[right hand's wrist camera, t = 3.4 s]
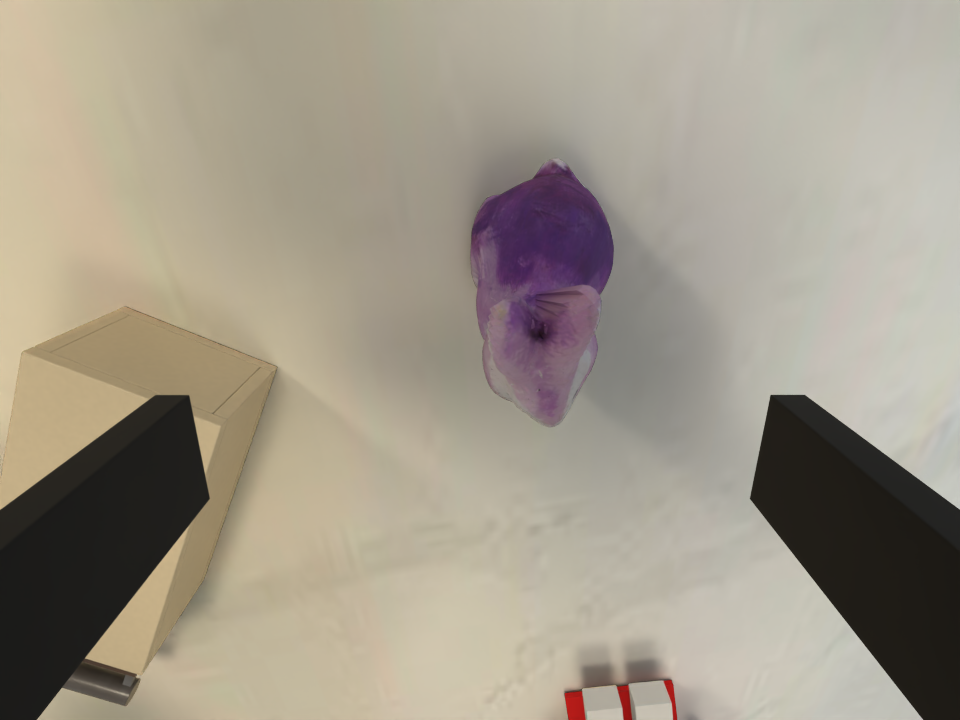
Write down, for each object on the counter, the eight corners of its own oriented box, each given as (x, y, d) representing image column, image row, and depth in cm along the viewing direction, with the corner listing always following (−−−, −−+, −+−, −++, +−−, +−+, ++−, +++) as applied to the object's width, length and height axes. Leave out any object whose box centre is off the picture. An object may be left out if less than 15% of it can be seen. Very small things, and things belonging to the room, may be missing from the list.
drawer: (169, 648, 45) (118, 730, 38) (56, 612, 43) (-17, 691, 37) (251, 404, 37) (204, 456, 31) (116, 352, 36) (38, 395, 29)
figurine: (516, 368, 37) (539, 501, 23) (425, 240, 34) (386, 303, 20) (641, 289, 35) (749, 382, 21) (556, 147, 32) (615, 144, 18)
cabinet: (204, 579, 43) (141, 676, 35) (72, 534, 42) (-26, 625, 34) (277, 367, 37) (221, 426, 29) (124, 306, 36) (20, 351, 28)
